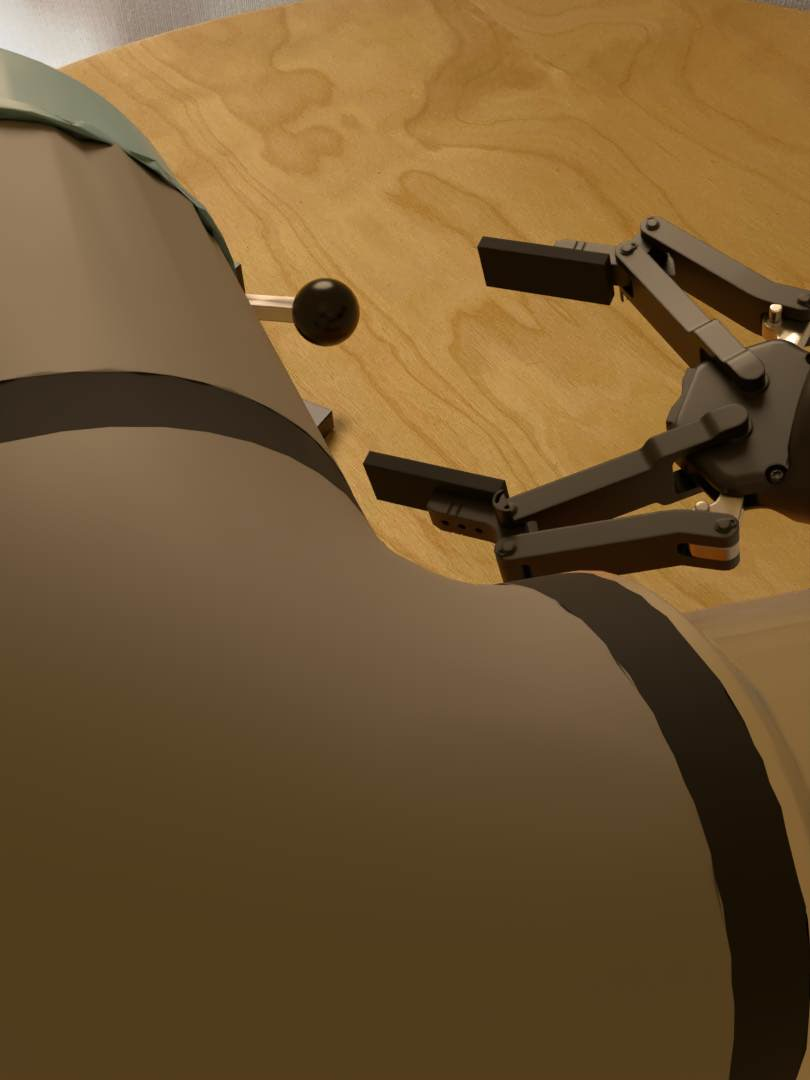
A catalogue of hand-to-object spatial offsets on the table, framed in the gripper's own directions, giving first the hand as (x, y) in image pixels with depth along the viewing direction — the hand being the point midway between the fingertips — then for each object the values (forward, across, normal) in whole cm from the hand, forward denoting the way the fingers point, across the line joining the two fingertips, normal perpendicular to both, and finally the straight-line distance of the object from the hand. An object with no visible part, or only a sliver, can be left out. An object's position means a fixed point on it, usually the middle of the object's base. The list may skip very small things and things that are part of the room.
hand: (430, 363), depth 63 cm
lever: (+13, +4, -6) cm, 15 cm away
